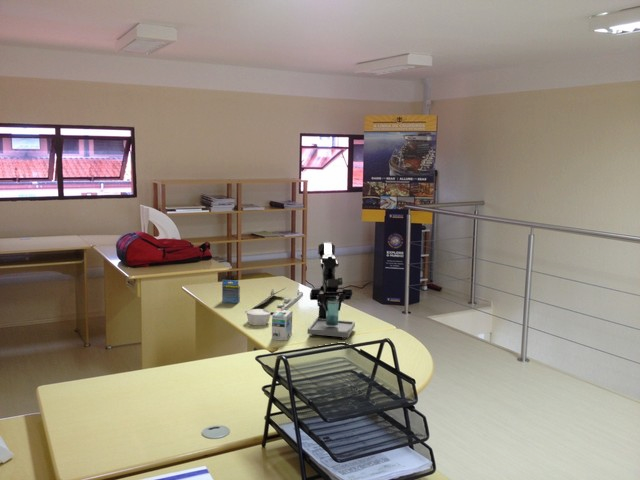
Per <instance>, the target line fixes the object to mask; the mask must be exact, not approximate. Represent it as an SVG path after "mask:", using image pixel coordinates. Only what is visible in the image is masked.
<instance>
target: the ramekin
mask: <svg viewBox="0 0 640 480" xmlns="http://www.w3.org/2000/svg"><path fill="white" fill-rule="evenodd" d="M271 312H272V311H270V310H268V309H265V308H264V309H262V308H253V309H252V308H251V309H247V310H246V315H247V321H248V323H249V324H250V325H254V326H265V325H268V323H269V322H270V317H271V316H272V315H271Z"/></svg>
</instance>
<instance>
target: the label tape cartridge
mask: <svg viewBox="0 0 640 480" xmlns="http://www.w3.org/2000/svg"><path fill="white" fill-rule="evenodd" d="M221 283H222V284H221V285H222V288H221V289H222V291H221V292H222V293H221V295H222V296H221V297H222V301H221V302H222V303H232V304H239V303H240V301H241V300H240V299H241V286H240V285H239V280H235V279H234V280H233V279H222V282H221Z"/></svg>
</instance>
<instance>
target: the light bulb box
mask: <svg viewBox="0 0 640 480" xmlns="http://www.w3.org/2000/svg"><path fill="white" fill-rule="evenodd" d="M291 335H293V310H289V309H287V310H281V308H280V309H279V308H278V309H277V310H276V311H274V313H272V315H271V340H279V341H287V340H288V339H289V338H290V337H291Z"/></svg>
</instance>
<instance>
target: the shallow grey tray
mask: <svg viewBox="0 0 640 480" xmlns="http://www.w3.org/2000/svg"><path fill="white" fill-rule="evenodd" d="M355 323H356V322H355V321H350V320H340V319H338V325H337V326H329V325H326V319H321V318H318V317H317V318H315V320H314V321H312V323H311V324H310V326H308V328H307V334H308V335H309V334H310V337H312V338H315V335H319V336H331V337H340V338H342V341H346V340H347V339H348V338H349V337H350V336H351V333H352V332H353V330H354V328H355V325H356V324H355Z"/></svg>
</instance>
